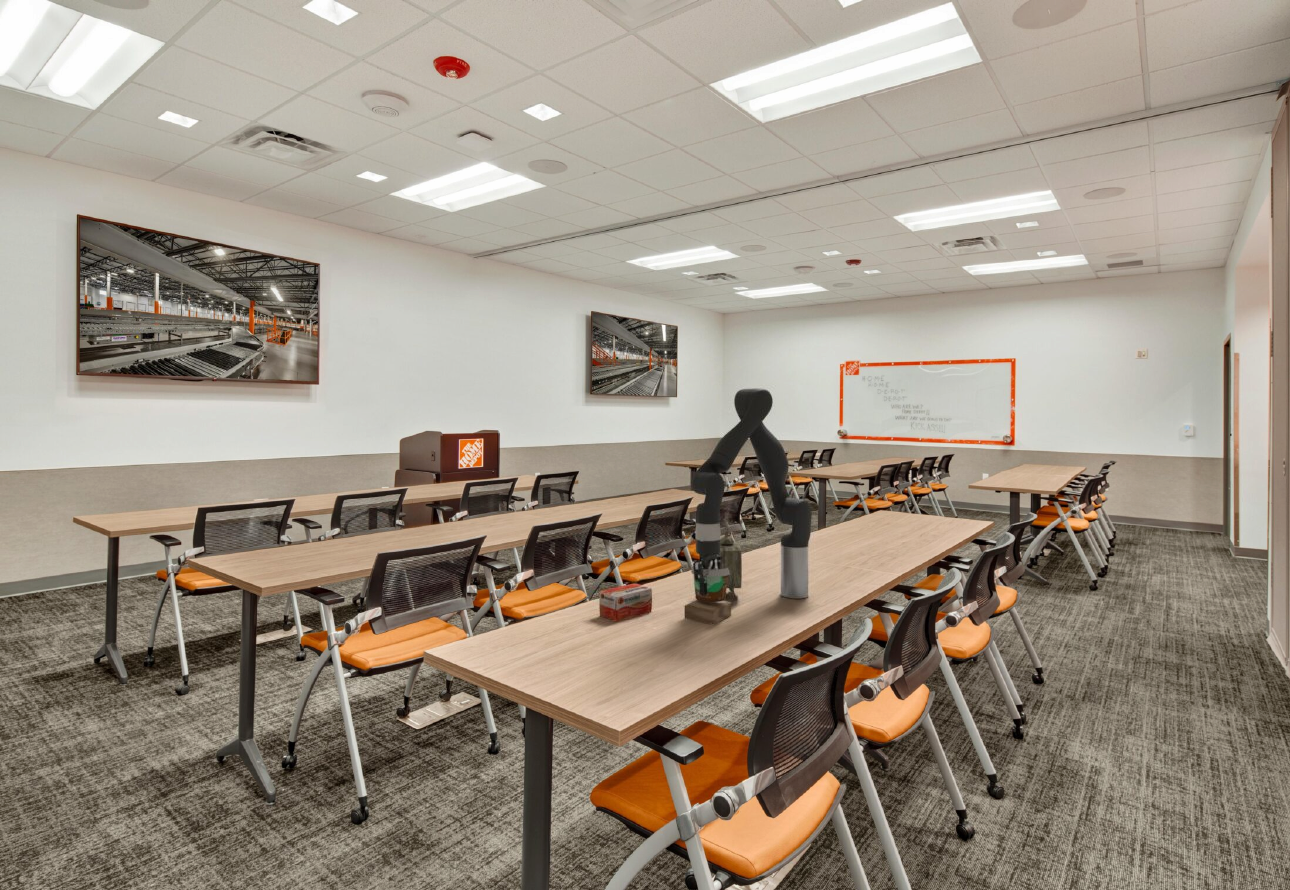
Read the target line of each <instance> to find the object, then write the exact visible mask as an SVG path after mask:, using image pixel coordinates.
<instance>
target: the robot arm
mask: <svg viewBox="0 0 1290 890" xmlns="http://www.w3.org/2000/svg"><path fill="white" fill-rule="evenodd" d="M733 400H734V401H733V402H734V408H735V412H736V414H737V416H738V418H739V420H740V421H738V423H737V424H736V425H734V427H732V428H731V429H730V430H729V431H727V432H726V433H725V434H724V435H723V437H722V438H721V439H720V440H719V441H718V443H717V444H716V445H715V447H714V450H713V451H712V453H711V455H710V457H709V458H707V460H705V461H704V463H702V464H701V466H700V467H698V469H697V470H696V471H695V473H694V475H693V476H692V479H691V489H692V491H693V492H694V493H696V494H698V495H704V496H705V497H704V499H703V500H704V501H703V502H701V503H698V504H697V506H696V519H695V521H696V522H695V523H696V525H695V553H696V554H697V555H699V557H698V561H697V562H693V563H692V567H693V568H694V575H693V577H694V576H695V581H697V582H699V584H700V595H707V577H706V576H703V569H708V570H707V572H709V570H713V569H721V567H722V556H718V555H717V554H719V553H720V539H721V525H720V522H721V521H720V516H721V515H720V509H721V505H722V501H723V499H724V498H723V497H724V493H725V487H726V486H725V481H724V478H723V476H722V475H721V474H722V473H725V472H728V471H729V470H730V469H731V467H732V465H733V464H734V462H735V461H736V458H737V456H738V454H739V453H740V451H741V449H742V448H743V447H744V445H745V444H746V443H747V441H748V440H749V441H750V443H751V446H752V448H753V451H754V452H755V456H756V458H757V462H758V464H759V467H760V469H761V471H762V472H761V473H762V475H763V478H764V480H765V481H766V482H765V483H766V486H767V489H768V491H769V495H770V498H771V502H772V506H773V511H774V513H775V517H776V518H777V520H778V521H779V522H780V523H781V524H783V525H789V526H791V532H790V533H787V534H783V535H782V536H781V538H780V596H782V597H784V598H787V599H805V598H807V597H809V541H810V538H811V531H812V530H811V529H812V506H811V504H810V503H809V501H808V500H806V499H803V498H795V497H794V498H793V497H791V496H790V495H789V491H787V487H786V481H787V476H788V473H789V467H790V466H789V459H788V458H787V454H786V452H785V449H784V447H783V444H782V443H781V442H780V440H778V439H777V437H776V436H775V435H774V434H773V433H772V432H771V431H770V429H768V428H767V426H766V425H765V423H764V422H763V421H764V420H765V419H766V417H767V416H768V415H769V413H770V412H771V410H772V408H773V403H774V402H773V395H772V394H771V392H770V391H769V390H768V389H765V388H742V389H739V390H738V391H736V393H735V396H734V399H733ZM698 575H700V576H699V577H698ZM706 575H708V573H707V574H706Z"/></svg>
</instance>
